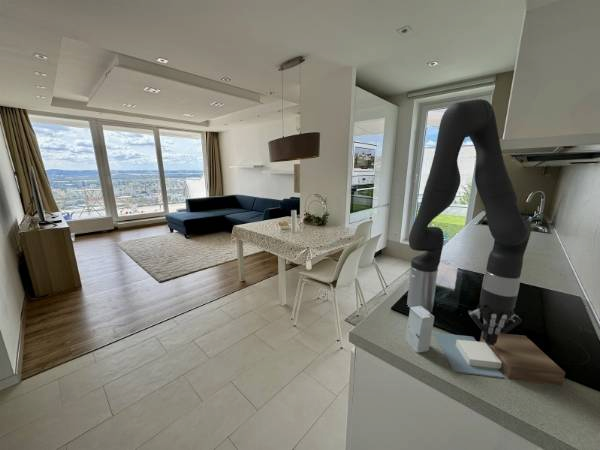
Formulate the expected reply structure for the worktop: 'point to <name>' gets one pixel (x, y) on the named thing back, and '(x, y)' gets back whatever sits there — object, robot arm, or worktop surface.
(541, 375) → the stand
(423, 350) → the skincare box
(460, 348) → the coaster
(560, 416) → the worktop surface
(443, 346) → the mat
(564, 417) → the worktop surface
